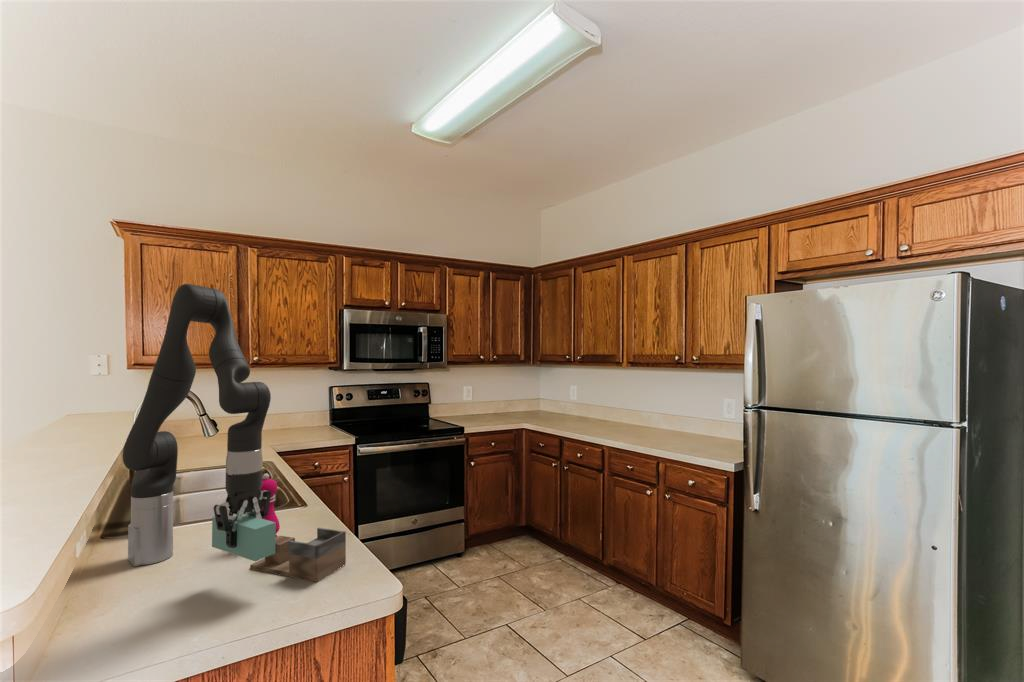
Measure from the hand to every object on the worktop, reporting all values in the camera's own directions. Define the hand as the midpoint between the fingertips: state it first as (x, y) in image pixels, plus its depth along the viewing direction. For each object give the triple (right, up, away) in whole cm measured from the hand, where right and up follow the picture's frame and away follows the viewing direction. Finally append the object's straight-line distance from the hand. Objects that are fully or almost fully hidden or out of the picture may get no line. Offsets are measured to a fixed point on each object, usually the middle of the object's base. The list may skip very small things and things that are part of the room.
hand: (243, 542), depth 117 cm
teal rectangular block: (0, -2, 0) cm, 2 cm away
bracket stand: (+7, -11, +12) cm, 18 cm away
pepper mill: (-8, -12, +27) cm, 31 cm away
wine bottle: (-49, -12, +38) cm, 63 cm away
